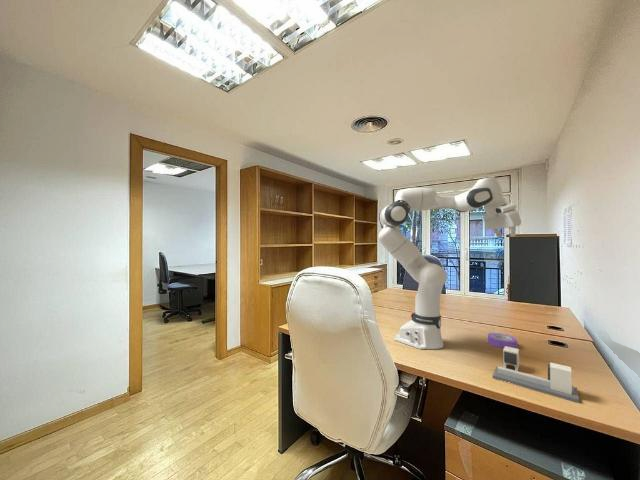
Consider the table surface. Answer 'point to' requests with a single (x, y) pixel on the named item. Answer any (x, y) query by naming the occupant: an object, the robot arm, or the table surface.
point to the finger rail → (537, 387)
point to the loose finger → (511, 357)
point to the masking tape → (502, 340)
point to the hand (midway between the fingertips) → (506, 236)
